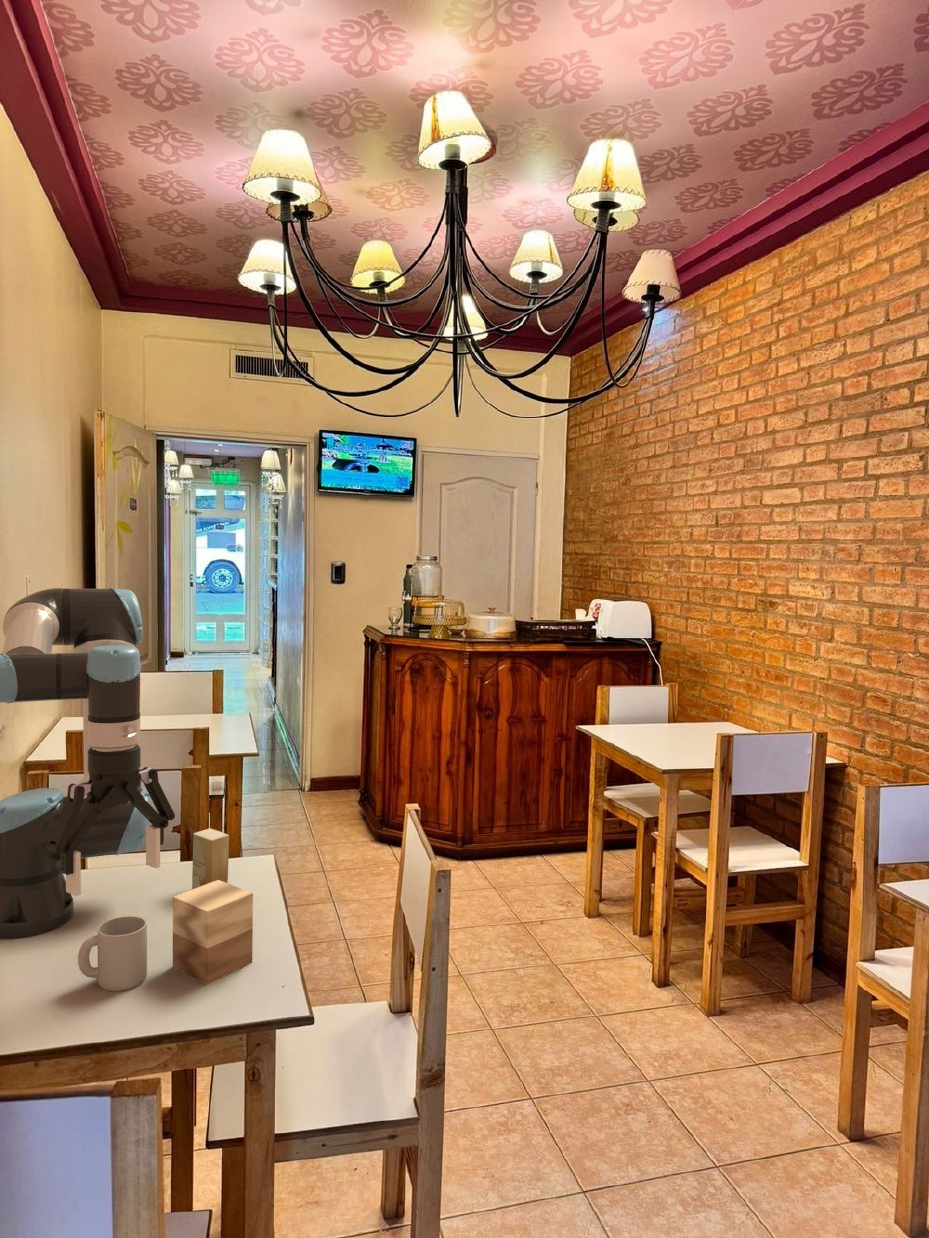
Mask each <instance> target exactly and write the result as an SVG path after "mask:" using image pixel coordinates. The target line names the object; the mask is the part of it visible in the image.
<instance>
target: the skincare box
mask: <svg viewBox="0 0 929 1238" xmlns="http://www.w3.org/2000/svg"><path fill="white" fill-rule="evenodd" d="M192 844H193V845H192V872H191V873H192V876H191V882H192V883H191V890H192V889H195V888H198V887H200V886H203V885H206V884H208V883H211V882H214V881H217V880H220V881H223V882H225V883H228V884H229V854H230V851H229V850H230V848H229V847H230V845H229V844H230V835H229V834H227V833H225V832H222V831H219V830H216V829H213V828H211V827H209V828H207V829H204V830H200V831H196V832H194V833H193V834H192Z"/></svg>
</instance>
